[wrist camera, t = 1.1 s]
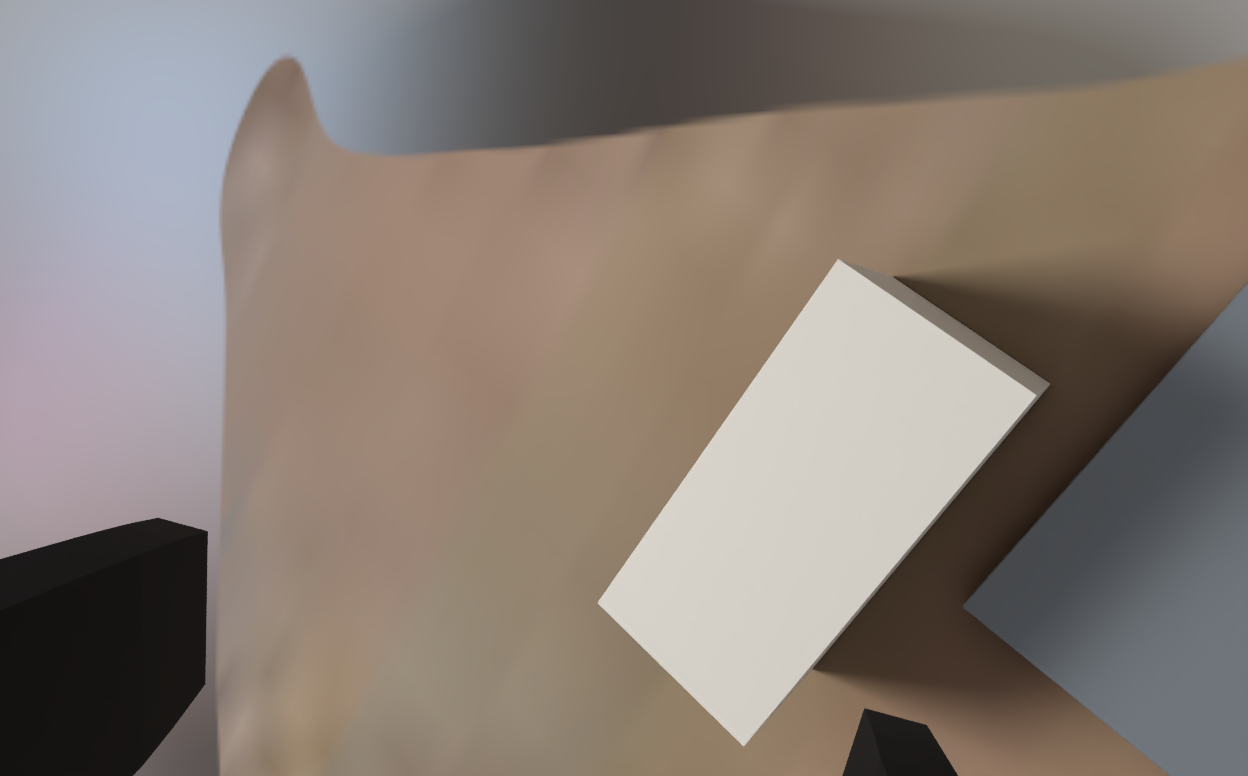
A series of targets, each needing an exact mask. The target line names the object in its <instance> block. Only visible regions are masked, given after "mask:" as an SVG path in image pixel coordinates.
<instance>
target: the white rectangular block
mask: <svg viewBox="0 0 1248 776" xmlns="http://www.w3.org/2000/svg"><path fill="white" fill-rule="evenodd" d="M1049 386H1050V383H1048V382H1047V381H1046V380H1044V379H1043V378H1041V377H1040V376H1038V375H1037V374H1035V373H1034V372H1032V371H1031V370H1029V369H1028V368H1026V367H1025V366H1023V365H1022V364H1020V363H1019V362H1017V361H1016V360H1015V359H1013V358H1012V357H1010V356H1009V355H1007V354H1006V353H1004V352H1003V351H1001V350H1000V349H998V348H997V347H995V346H994V345H992V344H991V343H989V342H988V341H986V340H985V339H983V338H982V337H981V336H979V335H978V334H976V333H975V332H973V331H972V330H970V329H969V328H967V327H966V326H964V325H963V324H961V323H960V322H958V321H957V320H955V319H954V318H952V317H951V316H950V315H948V314H947V313H945V312H944V311H942V310H941V309H939V308H938V307H936V306H935V305H933V304H932V303H930V302H929V301H927V300H926V299H924V298H923V297H921V296H920V295H918V294H917V293H916V292H914V291H913V290H911V289H910V288H908V287H907V286H905V285H904V284H902V283H901V282H899V281H898V280H896V279H895V278H893V277H892V276H889V275H886V274H883V273H880V272H877V271H874V270H871V269H868V268H865V267H862V266H858V265H855V264H852V263H849V262H846V261H843V260H840V259H838V260H837V262H836V263H835V264H834V266H833V267H832V269H831V270H830V272H829V273H828V274H827V276H826V277H825V279H824V280H823V282H822V283H821V284H820V286H819V287H818V289H817V290H816V292H815V293H814V294H813V296H812V297H811V299H810V300H809V302H808V303H807V304H806V306H805V307H804V309H803V310H802V312H801V313H800V314H799V316H798V317H797V319H796V320H795V322H794V323H793V324H792V326H791V327H790V329H789V330H788V332H787V333H786V334H785V336H784V337H783V339H782V340H781V342H780V343H779V344H778V346H777V347H776V349H775V350H774V352H773V353H772V354H771V356H770V357H769V359H768V360H767V362H766V363H765V364H764V366H763V367H762V369H761V370H760V372H759V373H758V374H757V376H756V377H755V379H754V380H753V382H752V383H751V384H750V386H749V387H748V389H747V390H746V392H745V393H744V394H743V396H742V397H741V399H740V400H739V402H738V403H737V404H736V406H735V407H734V409H733V410H732V412H731V413H730V414H729V416H728V417H727V419H726V420H725V422H724V423H723V424H722V426H721V427H720V429H719V430H718V432H717V433H716V434H715V436H714V437H713V439H712V440H711V442H710V443H709V444H708V446H707V447H706V449H705V450H704V452H703V453H702V454H701V456H700V457H699V459H698V460H697V462H696V463H695V464H694V466H693V467H692V469H691V470H690V472H689V473H688V474H687V476H686V477H685V479H684V480H683V482H682V483H681V484H680V486H679V487H678V489H677V490H676V492H675V493H674V494H673V496H672V497H671V499H670V500H669V502H668V503H667V504H666V506H665V507H664V509H663V510H662V512H661V513H660V514H659V516H658V517H657V519H656V520H655V521H654V523H653V524H652V526H651V527H650V529H649V530H648V531H647V533H646V534H645V536H644V537H643V539H642V540H641V541H640V543H639V544H638V546H637V547H636V549H635V550H634V551H633V553H632V554H631V556H630V557H629V559H628V560H627V561H626V563H625V564H624V566H623V567H622V569H621V570H620V571H619V573H618V574H617V576H616V577H615V579H614V580H613V581H612V583H611V584H610V586H609V587H608V589H607V590H606V591H605V593H604V594H603V596H602V597H601V599H600V600H599V601H598V604H599V605H600V606H601V607H602V608H603V609H604V610H605V611H606V612H607V613H608V614H609V615H610V616H611V617H612V618H613V619H614V620H615V621H616V622H618V623H619V624H620V625H621V626H622V627H623V628H624V629H625V630H626V631H627V632H628V633H629V634H630V635H631V636H632V637H633V638H634V639H635V640H636V641H637V642H638V643H639V644H640V645H641V646H642V647H643V648H644V649H645V650H646V651H647V652H648V653H649V654H650V655H651V656H652V657H653V658H654V659H655V660H656V661H657V662H658V663H659V664H660V665H661V666H662V667H663V668H664V669H665V670H666V671H667V672H668V673H669V674H670V675H671V676H673V677H674V678H675V679H676V680H677V681H678V682H679V683H680V684H681V685H682V686H683V687H684V688H685V689H686V690H687V691H688V692H689V693H690V694H691V695H692V696H693V697H694V698H695V699H696V700H697V701H698V702H699V703H700V704H701V705H702V706H703V707H704V708H705V709H706V710H707V711H708V712H709V713H710V714H711V715H712V716H713V717H714V718H715V719H716V720H717V721H718V722H719V723H720V724H721V725H722V726H723V727H724V728H725V729H726V730H728V731H729V732H730V733H731V734H732V735H733V736H734V737H735V738H736V739H737V740H738V741H739V742H740V743H741V744H742V745H743V746H745V744H746V743H747V742H748V741H749V740H750V739H751V738H752V736H753V735H754V734H755V733H756V732H757V731H758V730H759V729H760V727H761V726H762V725H763V724H764V723H765V722H766V721H767V720H768V718H769V717H770V716H771V715H772V714H773V713H774V712H775V711H776V709H777V708H778V707H779V706H780V705H781V704H782V703H783V701H784V700H785V699H786V698H787V697H788V696H789V695H790V694H791V692H792V691H793V690H794V689H795V688H796V687H797V686H798V685H799V683H800V682H801V681H802V680H803V679H804V678H805V677H806V675H807V674H808V673H809V672H810V671H811V670H812V669H813V667H814V666H815V665H816V664H817V663H818V661H819V660H820V659H821V658H822V657H823V655H824V654H825V653H826V652H827V651H828V650H829V648H830V647H831V646H832V645H833V644H834V642H835V641H836V640H837V639H838V638H839V636H840V635H841V634H842V633H843V632H844V630H845V629H846V628H847V627H848V626H849V624H850V623H851V622H852V621H853V620H854V618H855V617H856V616H857V615H858V614H859V612H860V611H861V610H862V609H863V608H864V607H865V605H866V604H867V603H868V602H869V601H870V599H871V598H872V597H873V596H874V595H875V593H876V592H877V591H878V590H879V589H880V587H881V586H882V585H883V584H884V583H885V581H886V580H887V579H888V578H889V577H890V575H891V574H892V573H893V572H894V571H895V569H896V568H897V567H898V566H899V565H900V564H901V562H902V561H903V560H904V559H905V558H906V556H907V555H908V554H909V553H910V552H911V550H912V549H913V548H914V547H915V546H916V544H917V543H918V542H919V541H920V540H921V538H922V537H923V536H924V535H925V534H926V532H927V531H928V530H929V529H930V528H931V526H932V525H933V524H934V523H935V522H936V521H937V519H938V518H939V517H940V516H941V515H942V513H943V512H944V511H945V510H946V509H947V507H948V506H949V505H950V504H951V503H952V501H953V500H954V499H955V498H956V497H957V495H958V494H959V493H960V492H961V491H962V489H963V488H964V487H965V486H966V485H967V483H968V482H969V481H970V480H971V479H972V478H973V476H974V475H975V474H976V473H977V472H978V470H979V469H980V468H981V467H982V466H983V464H984V463H985V462H986V461H987V460H988V458H989V457H990V456H991V455H992V454H993V452H994V451H995V450H996V449H997V448H998V446H999V445H1000V444H1001V443H1002V442H1003V440H1004V439H1005V438H1006V437H1007V436H1008V435H1009V433H1010V432H1011V431H1012V430H1013V429H1014V427H1015V426H1016V425H1017V424H1018V423H1019V421H1020V420H1021V419H1022V418H1023V417H1024V415H1025V414H1026V413H1027V412H1028V411H1029V409H1030V408H1031V407H1032V406H1033V405H1034V403H1035V402H1036V401H1037V400H1038V399H1039V397H1040V396H1041V395H1042V394H1043V393H1044V392H1045V390H1046V389H1047V388H1048V387H1049Z"/></svg>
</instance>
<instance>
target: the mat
mask: <svg viewBox="0 0 1248 776" xmlns="http://www.w3.org/2000/svg"><path fill="white" fill-rule="evenodd" d="M963 608H964V609H965V610H967V611H968V612H969V613H970V614H971V615H973V616H974V617H975V618H976V619H978V620H979V621H980V622H981V623H983V624H984V625H985V626H986V627H987V628H989V629H990V630H991V631H992V632H994V633H995V634H996V635H997V636H999V637H1000V638H1001V639H1002V640H1004V641H1005V642H1006V643H1007V644H1008V645H1010V646H1011V647H1012V648H1013V649H1015V650H1016V651H1017V652H1018V653H1020V654H1021V655H1022V656H1023V657H1024V658H1026V659H1027V660H1028V661H1029V662H1031V663H1032V664H1033V665H1034V666H1036V667H1037V668H1038V669H1039V670H1040V671H1042V672H1043V673H1044V674H1045V675H1047V676H1048V677H1049V678H1050V679H1052V680H1053V681H1054V682H1055V683H1056V684H1058V685H1059V686H1060V687H1061V688H1063V689H1064V690H1065V691H1066V692H1068V693H1069V694H1070V695H1071V696H1073V697H1074V698H1075V699H1076V700H1077V701H1079V702H1080V703H1081V704H1082V705H1084V706H1085V707H1086V708H1087V709H1089V710H1090V711H1091V712H1092V713H1093V714H1095V715H1096V716H1097V717H1098V718H1100V719H1101V720H1102V721H1103V722H1105V723H1106V724H1107V725H1108V726H1109V727H1111V728H1112V729H1113V730H1114V731H1116V732H1117V733H1118V734H1119V735H1121V736H1122V737H1123V738H1124V739H1125V740H1127V741H1128V742H1129V743H1130V744H1132V745H1133V746H1134V747H1135V748H1137V749H1138V750H1139V751H1140V752H1142V753H1143V754H1144V755H1145V756H1146V757H1148V758H1149V759H1150V760H1151V761H1153V762H1154V763H1155V764H1156V765H1158V766H1159V767H1160V768H1161V769H1162V770H1164V771H1165V772H1166V773H1167V774H1169V775H1170V776H1248V283H1247V284H1246V285H1245V286H1244V287H1243V288H1242V289H1241V291H1240V292H1239V293H1238V294H1237V295H1236V296H1235V297H1234V298H1233V300H1232V301H1231V302H1230V303H1229V304H1228V305H1227V306H1226V308H1225V309H1224V310H1223V311H1222V312H1221V313H1220V314H1219V315H1218V317H1217V318H1216V319H1215V320H1214V321H1213V322H1212V323H1211V324H1210V326H1209V327H1208V328H1207V329H1206V330H1205V331H1204V332H1203V334H1202V335H1201V336H1200V337H1199V338H1198V339H1197V340H1196V341H1195V343H1194V344H1193V345H1192V346H1191V347H1190V348H1189V349H1188V350H1187V352H1186V353H1185V354H1184V355H1183V356H1182V357H1181V358H1180V360H1179V361H1178V362H1177V363H1176V364H1175V365H1174V366H1173V367H1172V369H1171V370H1170V371H1169V372H1168V373H1167V374H1166V375H1165V376H1164V378H1163V379H1162V380H1161V381H1160V382H1159V383H1158V384H1157V386H1156V387H1155V388H1154V389H1153V390H1152V391H1151V392H1150V393H1149V395H1148V396H1147V397H1146V398H1145V399H1144V400H1143V401H1142V402H1141V404H1140V405H1139V406H1138V407H1137V408H1136V409H1135V410H1134V412H1133V413H1132V414H1131V415H1130V416H1129V417H1128V418H1127V419H1126V421H1125V422H1124V423H1123V424H1122V425H1121V426H1120V427H1119V428H1118V430H1117V431H1116V432H1115V433H1114V434H1113V435H1112V436H1111V438H1110V439H1109V440H1108V441H1107V442H1106V443H1105V444H1104V445H1103V447H1102V448H1101V449H1100V450H1099V451H1098V452H1097V453H1096V454H1095V456H1094V457H1093V458H1092V459H1091V460H1090V461H1089V462H1088V464H1087V465H1086V466H1085V467H1084V468H1083V469H1082V470H1081V471H1080V473H1079V474H1078V475H1077V476H1076V477H1075V478H1074V479H1073V480H1072V482H1071V483H1070V484H1069V485H1068V486H1067V487H1066V488H1065V490H1064V491H1063V492H1062V493H1061V494H1060V495H1059V496H1058V497H1057V499H1056V500H1055V501H1054V502H1053V503H1052V504H1051V505H1050V506H1049V508H1048V509H1047V510H1046V511H1045V512H1044V513H1043V514H1042V516H1041V517H1040V518H1039V519H1038V520H1037V521H1036V522H1035V523H1034V525H1033V526H1032V527H1031V528H1030V529H1029V530H1028V531H1027V532H1026V534H1025V535H1024V536H1023V537H1022V538H1021V539H1020V540H1019V542H1018V543H1017V544H1016V545H1015V546H1014V547H1013V548H1012V549H1011V551H1010V552H1009V553H1008V554H1007V555H1006V556H1005V557H1004V558H1003V560H1002V561H1001V562H1000V563H999V564H998V565H997V566H996V568H995V569H994V570H993V571H992V572H991V573H990V574H989V575H988V577H987V578H986V579H985V580H984V581H983V582H982V583H981V584H980V586H979V587H978V588H977V589H976V590H975V591H974V592H973V594H972V595H971V596H970V597H969V598H968V599H967V600H966V601H965V603H964V605H963Z"/></svg>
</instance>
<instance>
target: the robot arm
mask: <svg viewBox="0 0 1248 776" xmlns="http://www.w3.org/2000/svg"><path fill="white" fill-rule="evenodd" d="M207 544H208V532H207V531H205V530H201V529H197V528H194V527H190V526H186V525H183V524H178V523H175V522H171V521H168V520H164V519H160V518H155V519H151V520H145V521H140V522H135V523H131V524H126V525H122V526H118V527H115V528H110V529H106V530H102V531H99V532H95V533H91V534H87V535H84V536H80V537H77V538H73V539H70V540H66V541H63V542H59V543H55V544H52V545H49V546H45V547H41V548H38V549H34V550H31V551H27V552H24V553H20V554H17V555H13V556H10V557H7V558H3V559H0V776H133V775H134V774H135V773H136V772H137V771H138V770H139V769H140V768H141V767H142V765H143V764H144V763H145V762H146V761H147V759H148V758H149V757H150V756H151V755H152V753H153V752H154V751H155V749H156V748H157V747H158V746H159V744H160V743H161V742H162V741H163V739H164V738H165V737H166V736H167V734H168V733H169V732H170V731H171V729H172V728H173V727H174V726H175V724H176V723H177V722H178V720H179V719H180V717H181V716H182V715H183V713H184V712H185V710H186V709H187V708H188V707H189V705H190V704H191V703H192V701H193V700H194V699H195V697H196V696H197V695H198V693H199V692H200V691H201V689H202V688H203V686H204V685H205V664H206V604H207ZM843 776H958V775H957V773H956V772H955V770H954V768H953V767H952V765H951V764H950V762H949V760H948V759H947V757H946V755H945V754H944V752H943V751H942V749H941V747H940V746H939V744H938V742H937V741H936V739H935V738H934V736H933V734H932V733H931V731H930V730H929V728H928V727H927V725H924V724H921V723H917V722H913V721H910V720H906V719H902V718H898V717H895V716H891V715H887V714H884V713H880V712H876V711H872V710H869V709H865V708H864V711H863V714H862V717H861V721H860V724H859V727H858V730H857V733H856V736H855V739H854V742H853V745H852V748H851V751H850V754H849V757H848V760H847V764H846V767H845V770H844V773H843Z"/></svg>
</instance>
